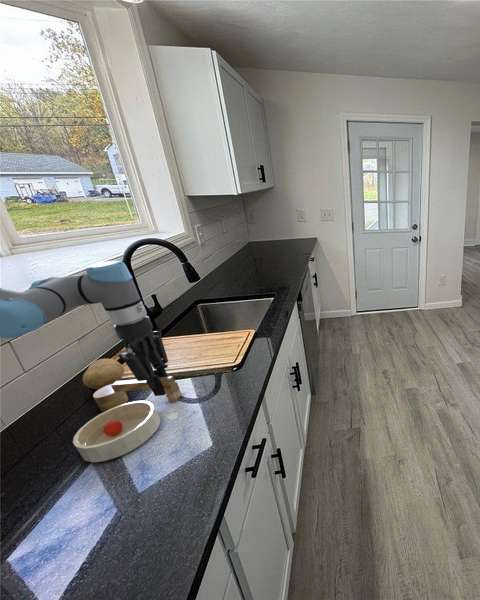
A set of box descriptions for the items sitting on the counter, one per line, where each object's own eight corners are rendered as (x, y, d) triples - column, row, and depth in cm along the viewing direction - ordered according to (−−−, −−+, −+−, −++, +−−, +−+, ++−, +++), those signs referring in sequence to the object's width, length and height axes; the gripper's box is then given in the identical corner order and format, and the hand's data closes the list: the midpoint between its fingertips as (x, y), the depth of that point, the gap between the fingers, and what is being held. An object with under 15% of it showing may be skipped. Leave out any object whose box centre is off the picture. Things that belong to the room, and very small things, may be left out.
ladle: (94, 412, 89) (83, 392, 86) (112, 397, 95) (101, 378, 92) (172, 405, 90) (163, 385, 87) (185, 391, 96) (177, 371, 93)
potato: (88, 404, 93) (75, 382, 90) (90, 383, 103) (79, 362, 100) (129, 388, 99) (118, 367, 95) (128, 370, 109) (118, 350, 106)
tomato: (101, 434, 79) (97, 431, 77) (112, 420, 81) (109, 416, 79) (117, 439, 80) (113, 435, 77) (127, 425, 82) (124, 421, 80)
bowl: (64, 467, 72) (53, 451, 70) (116, 418, 86) (108, 403, 84) (133, 460, 73) (124, 444, 71) (173, 412, 87) (167, 397, 85)
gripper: (123, 332, 75) (160, 408, 85) (163, 306, 89) (190, 374, 98) (91, 335, 75) (131, 411, 84) (136, 309, 89) (166, 377, 98)
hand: (163, 391), depth 91 cm, fingers closed on ladle, 2 cm apart
